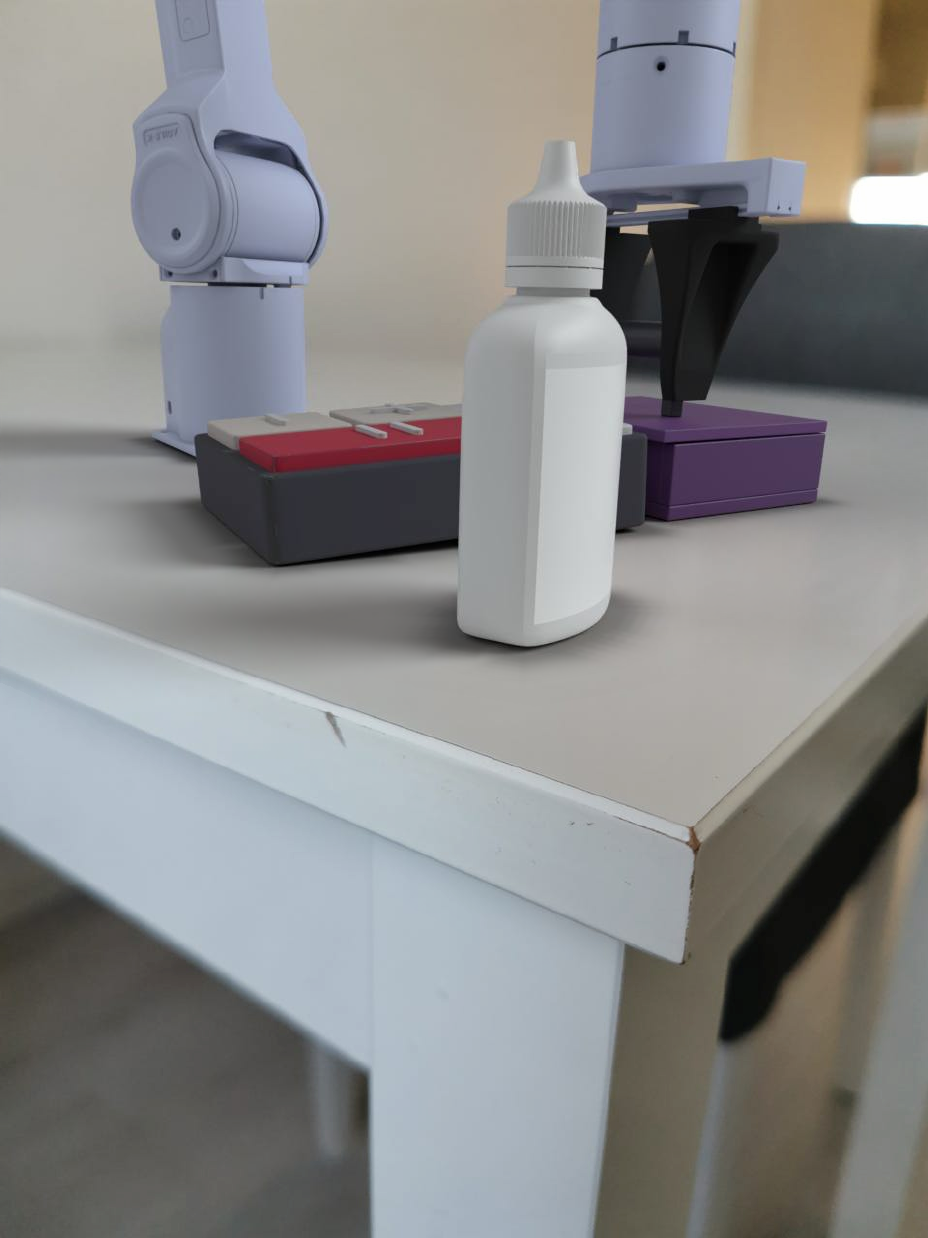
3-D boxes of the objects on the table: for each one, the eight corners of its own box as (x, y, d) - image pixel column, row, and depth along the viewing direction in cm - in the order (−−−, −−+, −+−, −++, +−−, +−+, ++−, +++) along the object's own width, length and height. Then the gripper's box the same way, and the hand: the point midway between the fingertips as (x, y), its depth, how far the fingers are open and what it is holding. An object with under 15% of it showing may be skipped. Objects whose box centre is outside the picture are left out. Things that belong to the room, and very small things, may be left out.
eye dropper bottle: (667, 626, 27) (712, 143, 23) (493, 659, 24) (512, 116, 20) (570, 586, 30) (596, 162, 26) (410, 610, 27) (413, 141, 24)
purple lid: (663, 443, 38) (674, 323, 37) (492, 411, 48) (495, 316, 47) (826, 432, 43) (841, 326, 42) (641, 405, 53) (648, 319, 52)
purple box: (667, 521, 40) (674, 444, 39) (499, 474, 50) (502, 412, 49) (817, 501, 44) (826, 433, 43) (636, 463, 54) (641, 406, 53)
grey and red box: (188, 414, 40) (511, 388, 46) (200, 518, 41) (512, 479, 47) (260, 453, 30) (653, 413, 36) (272, 585, 32) (649, 525, 38)
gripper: (875, 42, 37) (826, 406, 41) (623, 100, 49) (604, 379, 53) (746, 9, 33) (706, 412, 38) (506, 81, 45) (496, 382, 49)
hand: (638, 394), depth 45 cm, fingers closed on purple lid, 5 cm apart
